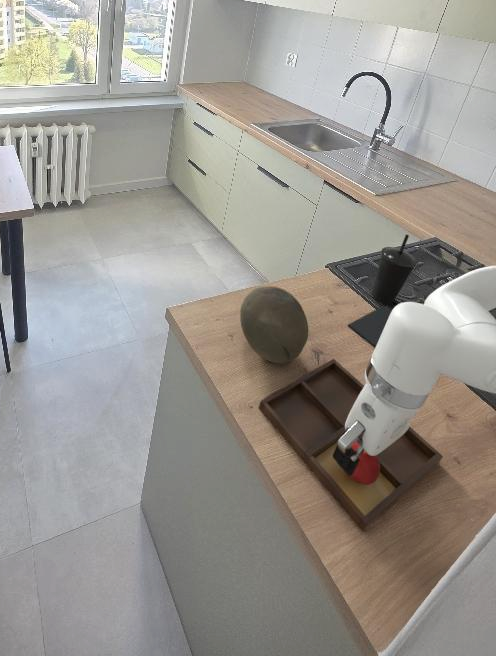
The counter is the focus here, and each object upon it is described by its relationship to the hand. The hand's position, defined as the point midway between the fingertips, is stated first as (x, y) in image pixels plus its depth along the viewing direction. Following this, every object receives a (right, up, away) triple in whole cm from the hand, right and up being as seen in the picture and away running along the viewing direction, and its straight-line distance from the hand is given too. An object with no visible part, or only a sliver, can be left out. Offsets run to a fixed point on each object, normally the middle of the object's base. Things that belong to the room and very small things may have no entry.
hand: (361, 451), depth 68 cm
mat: (+26, +4, +29) cm, 39 cm away
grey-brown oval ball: (-6, +4, +26) cm, 27 cm away
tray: (+2, -4, +9) cm, 10 cm away
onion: (0, -6, +3) cm, 7 cm away
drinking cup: (+30, +9, +42) cm, 52 cm away
